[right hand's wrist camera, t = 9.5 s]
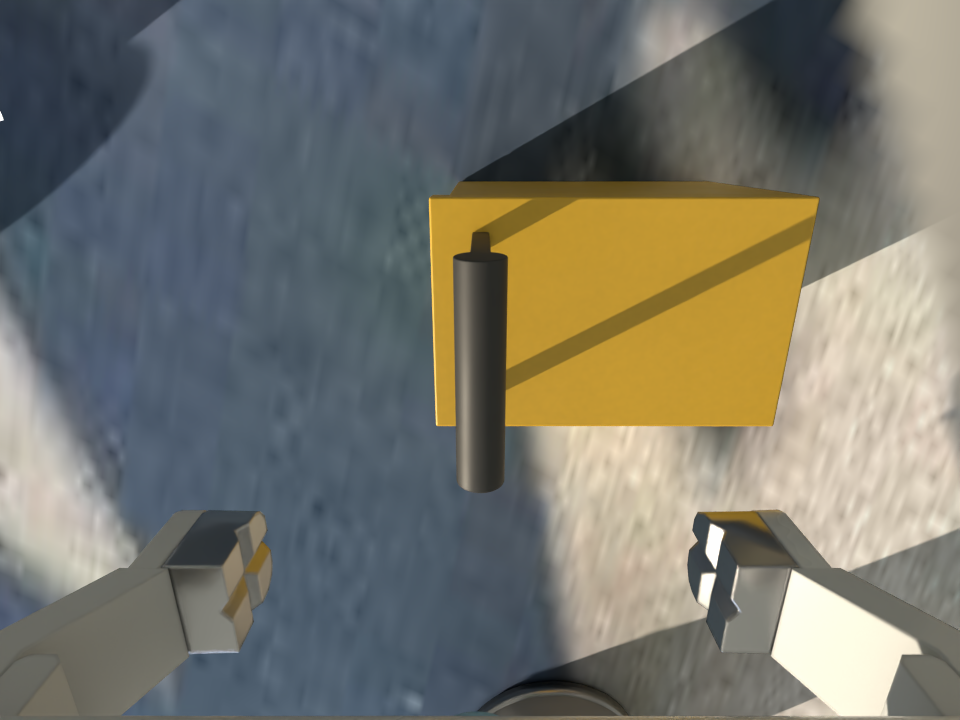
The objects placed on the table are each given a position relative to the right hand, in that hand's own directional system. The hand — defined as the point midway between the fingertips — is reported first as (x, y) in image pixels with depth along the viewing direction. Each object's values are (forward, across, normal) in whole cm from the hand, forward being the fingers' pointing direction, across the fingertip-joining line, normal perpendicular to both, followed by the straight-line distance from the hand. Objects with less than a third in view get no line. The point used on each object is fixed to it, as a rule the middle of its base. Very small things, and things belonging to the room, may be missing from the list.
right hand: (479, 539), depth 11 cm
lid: (+16, +6, 0) cm, 17 cm away
